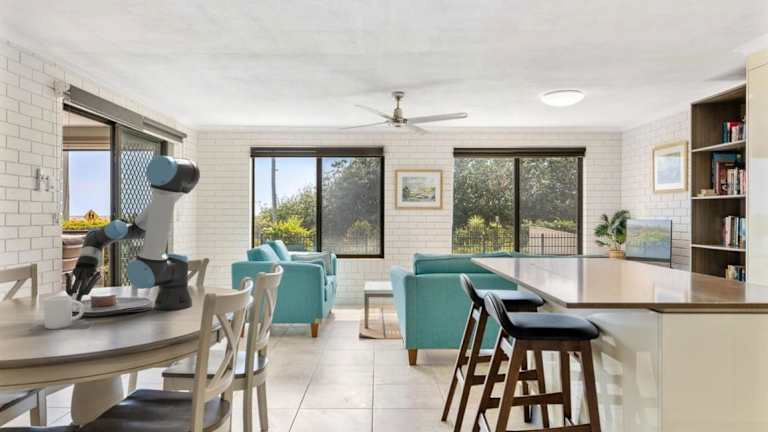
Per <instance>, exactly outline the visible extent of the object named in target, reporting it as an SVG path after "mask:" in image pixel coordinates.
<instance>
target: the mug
mask: <svg viewBox="0 0 768 432" xmlns="http://www.w3.org/2000/svg"><path fill="white" fill-rule="evenodd" d="M73 304H75V305H77V306H78V308H79V312H78V314H77V315H74V316H73V312H72V305H73ZM84 307H85V306H84V304H83V303H82V302H79V301H76V300H72V297H71V296H68V295H59V296H58V295H57V296H49V297H46V298H44V299H43V313H44V314H43V315H44V318H43V320H44V322H43V325H45V328H47V329H59V328H65V327H68V326H70V325H71V324H72V321H74V320H80V318H82V316H83V315H84V312H85V308H84Z"/></svg>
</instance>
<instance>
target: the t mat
mask: <svg viewBox="0 0 768 432" xmlns="http://www.w3.org/2000/svg"><path fill="white" fill-rule="evenodd" d="M84 321H86V319H77V320H74V321H72V324H71V325H70V326H68V327H65V328H59V329H47V328H45V325H44V324H37V325H35V326H33V327H31V328H29V329H28V330H26V332H33V331H34V332H36V331H41V332H42V331H60V330H61V331H62V330H67V331H68V330H87V329H88V328H90V327H91V326H93V325H96V324H95V323H96V322H89V323H88V322H87V323H86V322H85V323H84Z"/></svg>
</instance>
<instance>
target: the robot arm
mask: <svg viewBox="0 0 768 432" xmlns="http://www.w3.org/2000/svg"><path fill="white" fill-rule="evenodd" d="M199 168H200V167H199V166H198V164H197V163H196V162H195V161H193V160H191V159H189V158H184V157H183V158H182V157H176V156H172V155H158V156H156V157H154V158H152V159H151V160H150V161H149V162H148V164H147V166H146V169H145V176H146V177H147V181H148V182H149V183H150V185H149V188H150V190H152V191H151V192H152V197H151V202H150V203H148V205H147V206H145V208H144V209H142V211H141V212H140V213H139V214H138V215H137V216H136V217H135V218H134V219H133V220H132V221H131V222H124V221H122V220H120V219H115V220H113V221H110V222H108V223H107V224H105V225H104V226H103V227H91V228H90V229H89V230H87V233H86V235H85V237H84V241H83V243H82V247H81V249H80V252H79V254H78V258H77V260H76V262H75V267H74V269H72V270H71V272H65V273H64V276H65V280H66V281H65V292H66V294H67V295H66V296H71V297H72V300H76V301H79V302H81V301H82V299H83V297H84V296H88V295H89V294H90V293H91V292H92V290H93V288H94V287H95V285H96V283H97V282H98V280H100V279H101V278H102V274H101V271H97V268H98V266H99V262H100V260H101V256H102V253H103V251H104V248H105V247H107V246H109V245H111V244H113V243H115V242H120V241H121V242H123V241H135V240H137V241H138V240H143V242H142V248H141V250H139V251H137V253H136V256H135V260H132V261H131V262H130V263H129V264H128V266H127V268H126V276H127V279H128V280H129V282H130V284H131V285H132V286H133V287H135V288H137V289H140V290H143V289H151V288H155V287H158V291H157V294H156V297H155V300H154V301H153V302H154V304H153V305H154V306H153V308H154V309H156V310H160V311H171V310H181V309H186V308H189V307H192V306H193V298H192V296H191V293H190V291H189V261H188V259H189V258H188V256H187V255H186V254H181V253H180V254H179V253H178V254H177V253H166V249H167V244H168V240H169V234H170V229H171V224H172V220H173V215H174V209H175V206H176V205H175V204H176V203H177V202H178V201H179V200H180V199H181V198H182V197H183V196H184V195H188V194H190V192H192V190H194V188H195V187H196V186H197V184H198V183H199V180H200V177H201V171H200V169H199ZM73 276H74V281H72V279H73ZM72 283H73V284H72ZM81 303H82V302H81ZM77 306H78V305H75V304H73V305H72V313H73V312H76V309H77Z"/></svg>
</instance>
